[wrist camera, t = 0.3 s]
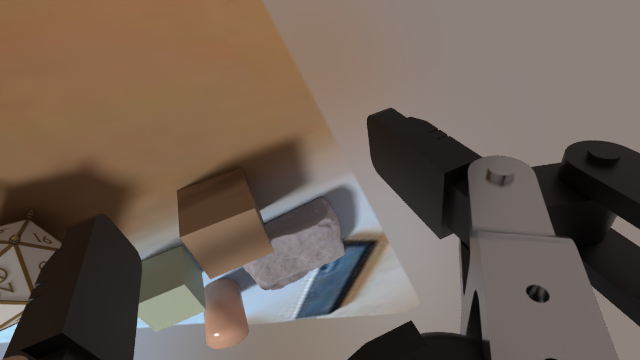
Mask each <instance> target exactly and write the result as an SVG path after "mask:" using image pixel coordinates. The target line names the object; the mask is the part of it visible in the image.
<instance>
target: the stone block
mask: <svg viewBox="0 0 640 360" xmlns="http://www.w3.org/2000/svg"><path fill="white" fill-rule="evenodd" d="M264 225H265V228H266V231H267V233H268V236H269V239H270V242H271V245H272V248H273V251H274V253H271V254H269V255H266V256H264V257H262V258H259V259H257V260H255V261H252V262H250V263H247V264H245V265H243V266H242V267H243V268H244V269H245V270H246V271H247V272H248V273H249V274H250V275H251V276H252V278H253V279H254V280H255V281H256V283H257V284H258V285H259V286H260V287H261V288H262V289H264V290H269V289H271V290H275V289H281V288H283V287H285V286H286V285H288V284H290V283H293V282H296V281H297V280H299V279H301V278H303V277H304V276H305V275H306V274H307V273H308V272H309V271H311V270H314V269H316V268H318V267H320V266H322V265H323V264H327V263H330V262H332V261H334V260H336V259H338V258H340V257H342V256H344V254H345V250H344V246H343V242H342V239H341V229H340V224H339V221H338V217H337V214H336V213H335V212H334V210H333V208H332V207H331V206H330V204H329V203H328V202H327V200H325V199H324V198H323V197H321V198H317V199H315V200H313V201H311V202H309V203H307V204H304V205H302V206H300V207H298V208H296V209H294V210H292V211H290V212H288V213H286V214H284V215H282V216H280V217H278V218H276V219H274V220H271V221H270V222H268V223H266V224H264Z"/></svg>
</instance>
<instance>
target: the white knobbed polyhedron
mask: <svg viewBox="0 0 640 360" xmlns="http://www.w3.org/2000/svg"><path fill="white" fill-rule="evenodd" d="M34 214H35V213H34V210H33V208H32V209H31V210H29V211H28V212H26V215H25V216H26V219H24V220H20V221H16V222H12V223H8V224H4V225H0V331H2V330H4V329H6V328H8V327H11V326H13V325H15V324H17V323H18V322H19V320H20V318H21V315H22V313H23V311H24V308H25V306H26V304H28V303H29V301H28V299H29V297H30V294H31V292H32V289H34V288H35V286H34V285H35V282H36V280H37V278H38V275H39V273H40V271H41V268H42V267H43V266H44V264H45V263H46V262H47V261H48V260H49V258H50V257H51V256H52V255H53V253H54V252H55V251H56V250H57V249H60V247H61V244H62V242H61V241H60V240H58V239H57V238H55V237H54V236H53V235H51V234H50V233H48V232H47V231H46V230H44V229H43V228H41V227H40V226H39V225H37V224H36V223H34V222H33V221H32V220H31V219H32V218H33V217H34Z"/></svg>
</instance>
